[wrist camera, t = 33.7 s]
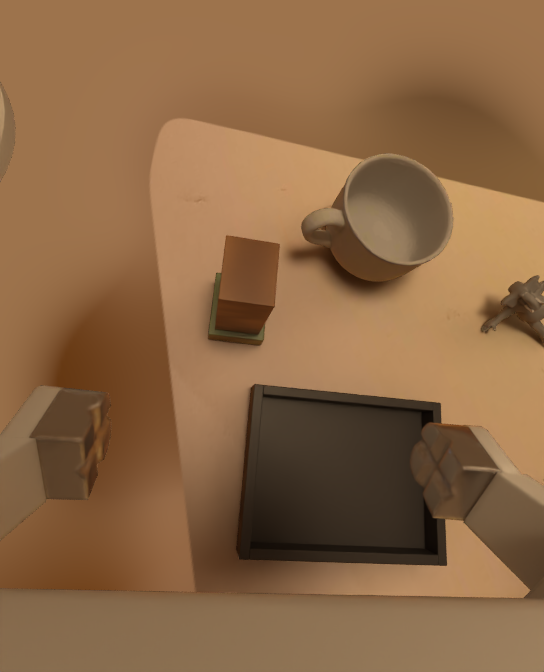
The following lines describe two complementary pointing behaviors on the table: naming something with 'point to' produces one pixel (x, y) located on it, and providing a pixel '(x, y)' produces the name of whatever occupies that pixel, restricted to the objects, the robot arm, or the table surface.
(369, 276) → the teacup
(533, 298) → the grey creature figurine
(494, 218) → the table surface
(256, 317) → the brown block green base
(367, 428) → the tray
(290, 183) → the table surface
